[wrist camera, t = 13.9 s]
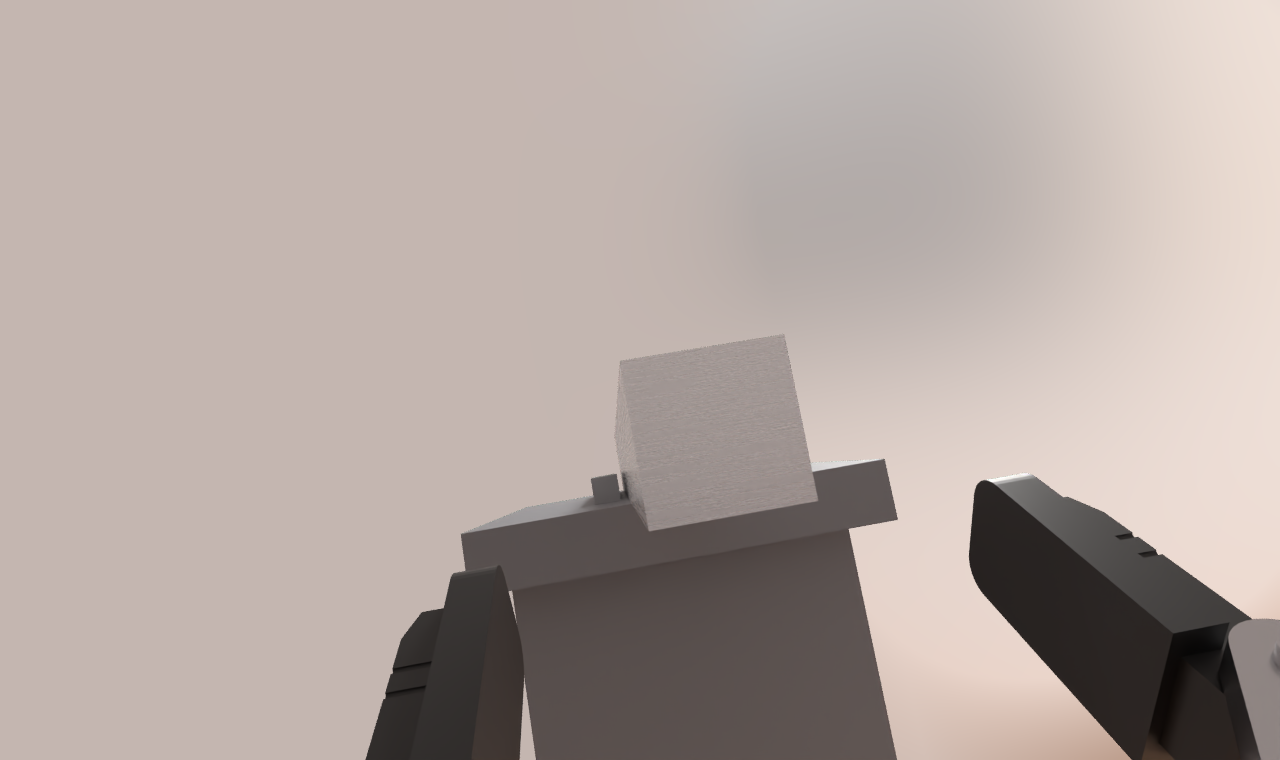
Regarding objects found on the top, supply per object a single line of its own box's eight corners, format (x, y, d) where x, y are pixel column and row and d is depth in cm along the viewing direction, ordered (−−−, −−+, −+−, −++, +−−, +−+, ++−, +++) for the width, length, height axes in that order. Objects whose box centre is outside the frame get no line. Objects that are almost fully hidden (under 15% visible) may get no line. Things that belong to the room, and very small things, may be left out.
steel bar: (817, 500, 11) (784, 333, 12) (648, 531, 11) (619, 360, 12) (677, 481, 36) (667, 427, 36) (623, 491, 36) (614, 437, 36)
